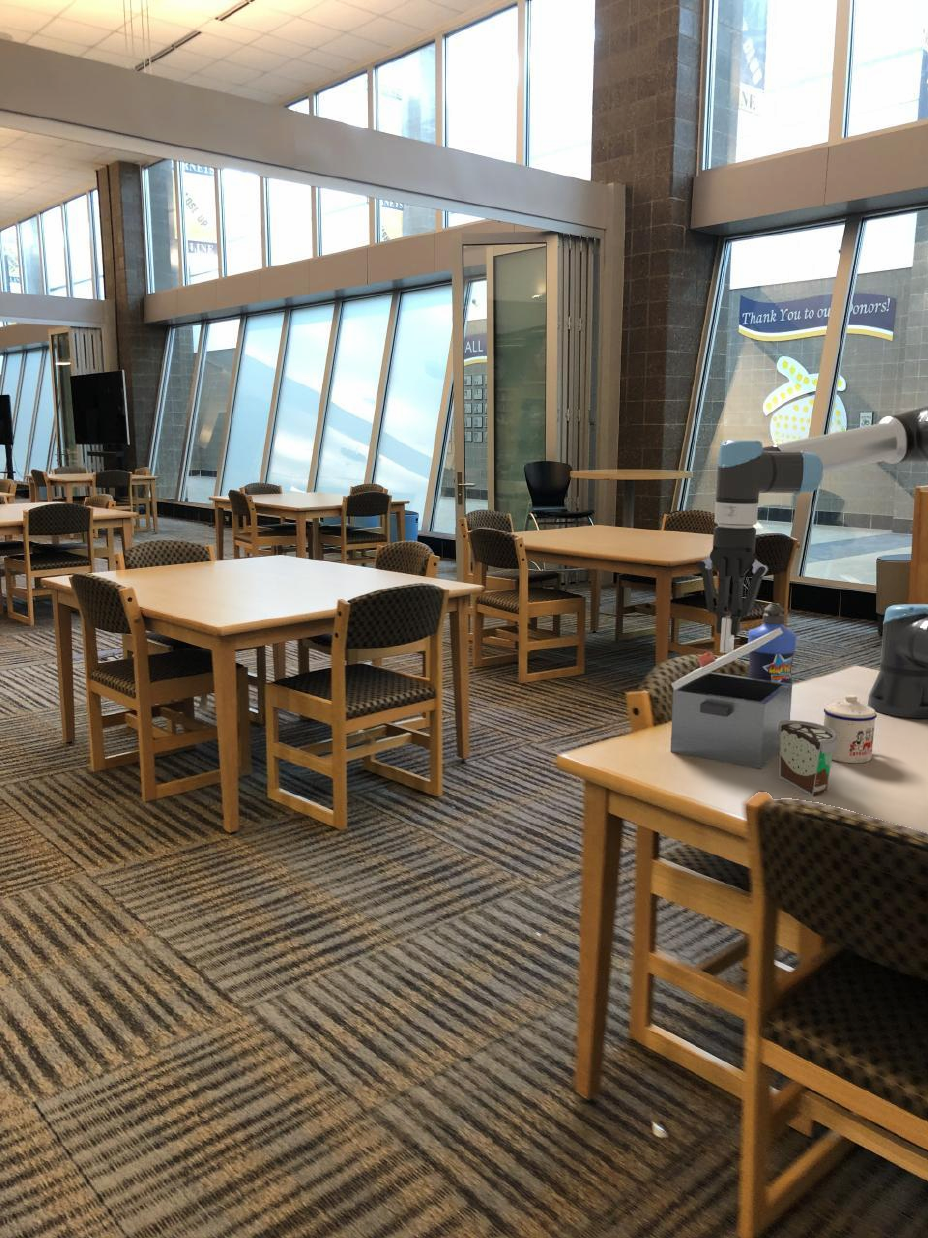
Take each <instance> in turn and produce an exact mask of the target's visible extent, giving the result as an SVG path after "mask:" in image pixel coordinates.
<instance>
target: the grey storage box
mask: <svg viewBox="0 0 928 1238" xmlns="http://www.w3.org/2000/svg"><path fill="white" fill-rule="evenodd" d="M791 688H792V689H793V683H792V684H789V683H782V682H776V681H769V680H762V679H755V678H748V676H740V675H733V674H726V673H721V672H713V671H711V672H709V673H707V674H705V675H703V676H701V677H699V678H697V679H695V680H693V681H691V682H689V683H687V684H685V685H683V686H681V687H679V688H677V689H673V691H672V708H671V709H672V712H671V731H670V733H671V735H670V752H671V751H673V752H672V753H676V752H677V754H682V755H687V756H691V757H697V758H701V759H707V760H711V761H716V762H722V763H726V764H730V765H731V764H732V765H736V766H737V765H738V766H741V767H742V766H743V767H746V768H747V767H748V768H752V769H757V770H762V768H764V767H765V766H766V765H767V764H768V763H769V762H770V761H771V760H772V759H773V758H775V756H776V755H778V754H779V753H780V731H778V727H779V724H780V721H783V720H789V716H790V717H791V711H790V702H791V703H792V697H791Z"/></svg>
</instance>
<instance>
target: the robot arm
mask: <svg viewBox="0 0 928 1238" xmlns="http://www.w3.org/2000/svg"><path fill="white" fill-rule="evenodd" d="M717 457H718V459H717V464H716V467H717V473H716V475H717V476H716V490H715V492H716V493H715V494H716V495H715V503H714V505H715V508H714V523H715V524H717V525H716V526H715V527H713V537H712V539H713V540H712V549H711V551H710V553H709V556H708V557H707V558H704V559H703V560H699V561H698V562H697V563H696V566H697V568H698V569H699V571H700V573H701V577H702V583H703V591H704V595H705V602H706V607H707V608H706V609H707V612H708V613H712V614H714V615H715V616H716V617H717V618H716V633H717V634H720V643H719V644H720V645H719V646H720V647H719V653H725V654H728V653H730V652H732V651H734V646H735V645H734V644H735V643H734V642H735V636H738V635H739V634H740V631H741V618H743V617H747V616H749V615H751V614H752V611H753V607H754V605H755V603H756V598H757V596H758V593H759V591H760V590H759V589H760V587H761V583H762V581H763V578H764V576H766V574H767V572H768V571H769V566H768V565H766V564H762V562H760V561H758V560H757V559H758V555H757V554H756V539H757V529H756V527H754V526H756V525H757V524H758V510H759V509H758V508H759V498H760V494H767V493H769V494H771V493H773V494H797V495H798V494H799V495H801V494H805V493H812V492H814V491H815V490H817V489H818V488H819V486H820V485H821V483H822V481H823V478H824V477H823V476H824V474H827V473H832V472H836V471H842V470H846V469H847V470H848V469H852V468H857V467H861V466H865V465H871V464H874V463H875V464H876V463H879V462H880V463H881V462H885V463H887V464H890V465H895V464H900V463H904V462H907V463H908V462H918V463H919V462H920V463H921V462H922V463H928V406H923V407H919V408H916V409H913V410H909V411H905V412H901V413H898V414H893V415H889V416H885V417H883V418H881V419H880V420H879V421H878V422H877V423H875V424H870V425H866V426H861V427H857V428H852V429H851V428H850V429H847V430H842V431H837V432H831V433H826V434H822V435H817V436H813V437H812V436H811V437H807V438H803V439H798V440H793V441H787V442H783V443H778V444H773V445H769V446H765V447H764V446H763V443H762V441H760V440H744V439H743V440H741V439H739V440H736V439H729V440H728V439H727V440H724V441H722V443H721V444H720V446H719V452H718V456H717ZM713 566H714V567H715V569H716V571H717V572H718V577H717V578H718V590H716V584H715V579H714V573H713V570H712V568H713ZM752 567H753V568H752ZM751 568H752V573H753V575H752V577H751V579H750V582H749V584H748V585H749V586H748V588H747V589H748V590H747V591H746V594H745V598H744V582H745V578H746V574H747V573H748V572H749V570H750V569H751ZM731 579H732V580H731ZM731 581H732V592H731V610H730V615H728V614H729V611H728V608H729V597H730V594H729V593H730V584H731V583H730V582H731ZM716 591H718V593H716ZM743 598H744V601H743ZM882 626H883V627H882V636H881V637H882V639H881V648H880V649H881V651H880V661H879V663H880V664H879V671H878V674H877V676H876V678H875V679H874V682H873V685H872V687H871V689H870V691H869V694H868V699H867V700H868V701H867V706H869V707H871V708H873V709H874V710H875V712H878V713H881V714H885V715H889V716H894V717H898V718H899V717H900V718H906V719H907V718H909V719H928V604H926V603H918V604H917V603H913V604H911V603H910V604H909V603H908V604H907V603H905V604H893V605H891V606H888V607H887V608H886V610H885V613H884V619H883V622H882Z"/></svg>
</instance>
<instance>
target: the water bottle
mask: <svg viewBox="0 0 928 1238" xmlns="http://www.w3.org/2000/svg"><path fill="white" fill-rule="evenodd" d="M764 611H765V612H766V613H765V612H764V613H763V614H762V622H763V623H762V624H761V625H760V626H757V627H755V628H752V629H751V630H748V635H747V636H748V638H747V639H748V640H747V644H748V643H750V642H752V641H754V640H756V639H758V638H760V637H762V636H764V635H766V634H768V633H770V632H772V631H774V630H776V629H778V628H781V630H782V632H783V633H782V634H780V635H779V636H777V637H775V638H774V639H772V640H770V641H769V642H767V643H765V644H764V645H762V646H760V647H759V648H757V649H755V650H754V651H752V652H750V653H748V659H749V660H748V661H749V668H748V672H747V677H748V678H755V679H762V680H769V681H776V682H782V683H789V684H792V685H793V677H792V676H793V675H792V668H793V666H792V665H793V663H794V662H793V661H794V656H795V651H796V650H797V639H798V636H797V635H798V634H797V633H796V632H794V631H792V630H790V629H789V628H787V627H786V626H785V625H784V624H785V619H786V618H785V617H786V615H785V614H783V612H784V611H785V609H784V608H783V607H782V606H781V604H780V603H776V602H772V603H769V604H768V605H767V606H765V608H764ZM792 694H793V687H792V688H791V698H792ZM791 710H792V701H791V702H790V712H791ZM789 720H791V715H790V716H789Z"/></svg>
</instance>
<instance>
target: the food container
mask: <svg viewBox="0 0 928 1238" xmlns="http://www.w3.org/2000/svg"><path fill="white" fill-rule="evenodd" d="M778 731H780V751H779V778H781V779H782V780H783V781H786V782H788V783H789V784H791V785H793V786H794V787H796V788H798V789H799V790H801V791H803V792H805V793H806V794H808V795H810V796H812V797H816V796H822V795H823V794H825V793H826V791H827V787H828V782H829V777H830V770H831V764H832V761H833V760H832V754H833V751H834V750H836V749H837V748H838V742H837V737H836V735H835V732H834V731H833V730H832V729H830V728H828V727H826V726H824V724H819V723H815V722H812V721H811V722H810V721H804V720H793V719H792V720H791V719H790V720H783V721H780V724H779V727H778Z"/></svg>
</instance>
